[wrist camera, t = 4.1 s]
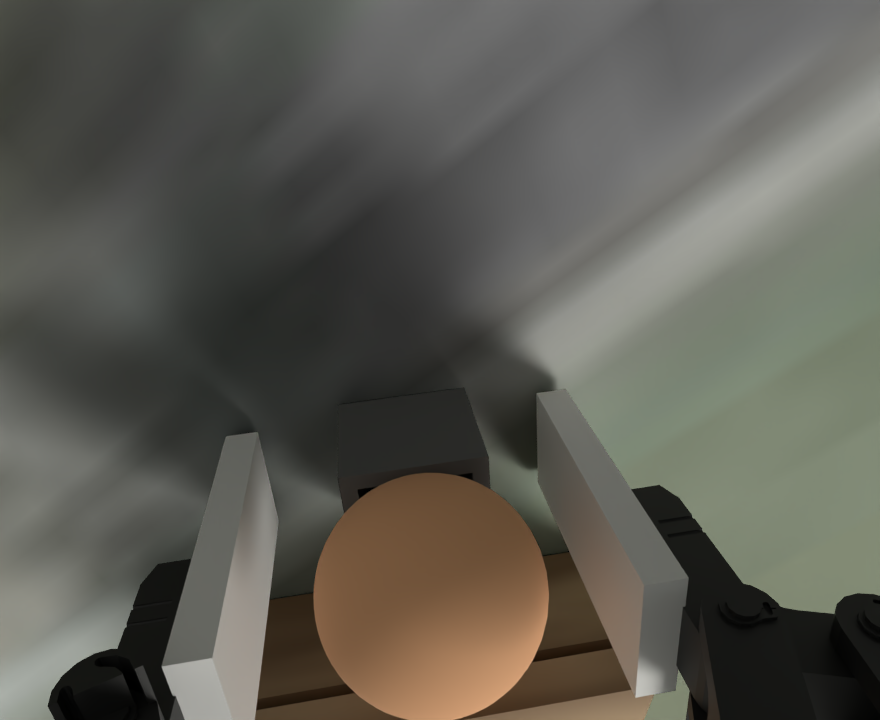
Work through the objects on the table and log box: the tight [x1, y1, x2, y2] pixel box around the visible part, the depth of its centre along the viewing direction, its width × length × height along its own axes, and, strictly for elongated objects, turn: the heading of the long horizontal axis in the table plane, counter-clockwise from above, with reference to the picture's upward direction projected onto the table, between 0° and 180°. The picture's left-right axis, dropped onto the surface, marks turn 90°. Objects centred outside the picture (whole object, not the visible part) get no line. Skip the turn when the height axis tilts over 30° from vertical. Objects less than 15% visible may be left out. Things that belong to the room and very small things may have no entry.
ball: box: [313, 473, 549, 720], centre depth 13 cm, size 4×4×4 cm
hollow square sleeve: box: [338, 388, 490, 513], centre depth 16 cm, size 3×3×3 cm
